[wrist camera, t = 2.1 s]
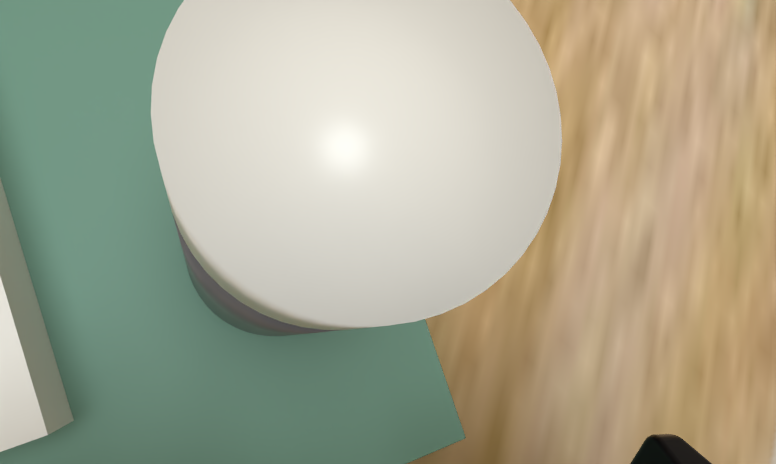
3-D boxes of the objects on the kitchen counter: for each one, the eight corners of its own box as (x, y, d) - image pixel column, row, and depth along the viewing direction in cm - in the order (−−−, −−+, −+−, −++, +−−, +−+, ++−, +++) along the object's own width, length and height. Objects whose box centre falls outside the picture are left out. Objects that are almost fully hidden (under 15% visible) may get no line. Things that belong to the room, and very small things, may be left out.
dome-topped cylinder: (384, 302, 20) (616, 250, 9) (217, 361, 19) (231, 390, 7) (330, 143, 21) (484, -109, 9) (161, 189, 19) (93, -40, 8)
